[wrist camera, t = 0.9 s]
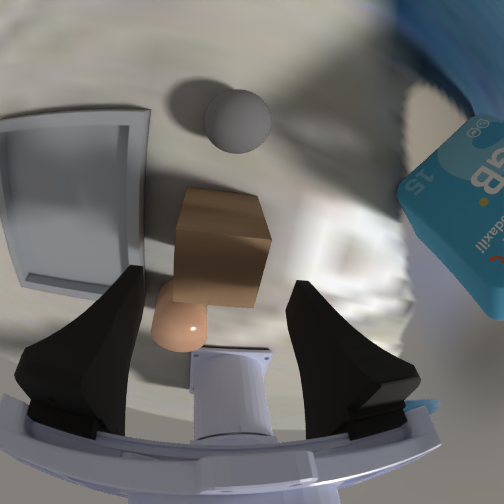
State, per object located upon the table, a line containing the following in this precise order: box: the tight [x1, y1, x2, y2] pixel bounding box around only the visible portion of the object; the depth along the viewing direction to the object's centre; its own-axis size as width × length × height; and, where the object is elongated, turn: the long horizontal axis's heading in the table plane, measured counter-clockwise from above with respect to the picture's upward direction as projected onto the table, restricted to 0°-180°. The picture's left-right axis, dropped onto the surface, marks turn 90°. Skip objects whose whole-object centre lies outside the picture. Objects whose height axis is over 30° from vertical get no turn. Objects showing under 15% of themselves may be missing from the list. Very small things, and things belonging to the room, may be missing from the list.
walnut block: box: [173, 188, 272, 308], centre depth 16 cm, size 4×4×6 cm
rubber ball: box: [204, 90, 271, 154], centre depth 13 cm, size 4×4×4 cm
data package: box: [397, 114, 504, 320], centre depth 13 cm, size 12×4×12 cm, turn 133°
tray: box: [0, 109, 151, 301], centre depth 16 cm, size 14×12×2 cm
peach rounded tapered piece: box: [151, 279, 207, 352], centre depth 20 cm, size 4×4×4 cm
